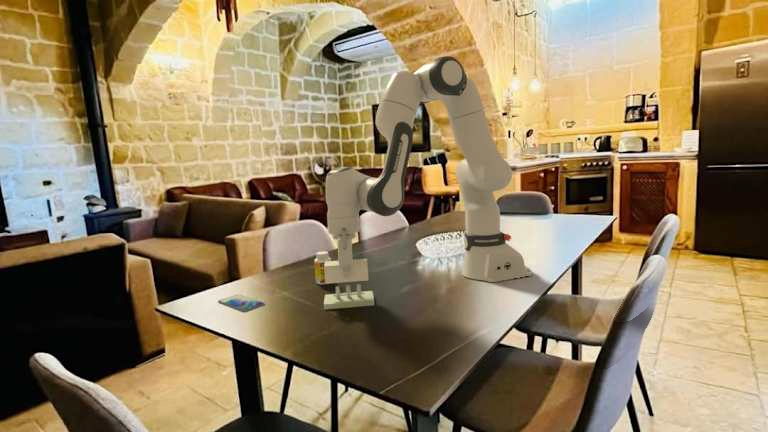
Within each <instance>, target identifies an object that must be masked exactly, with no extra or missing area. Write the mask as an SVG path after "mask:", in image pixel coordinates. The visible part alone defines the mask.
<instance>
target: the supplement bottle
mask: <svg viewBox="0 0 768 432" xmlns="http://www.w3.org/2000/svg"><path fill="white" fill-rule="evenodd" d="M315 255H316V257H315V259H314V261H313V262H314V272H315V273H314V274H315V283H316V284H318V285H322V286H323V285H326V284H325V271H324V264H325V262H327V261H332V258H331V257H330V255H329V252H328V251H323V250H322V251H318V252H316V253H315ZM329 284H330V283H328V284H327V285H329Z"/></svg>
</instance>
